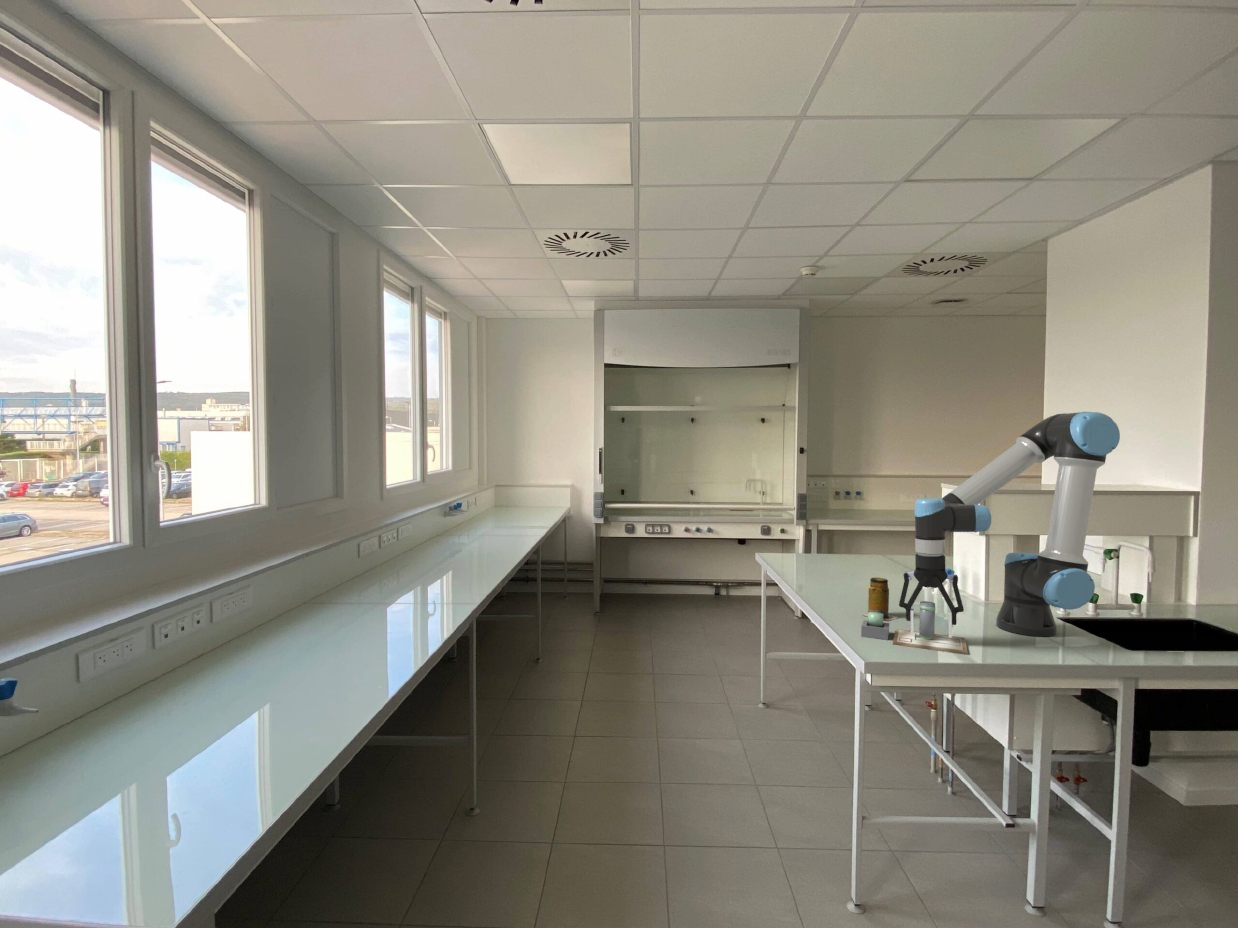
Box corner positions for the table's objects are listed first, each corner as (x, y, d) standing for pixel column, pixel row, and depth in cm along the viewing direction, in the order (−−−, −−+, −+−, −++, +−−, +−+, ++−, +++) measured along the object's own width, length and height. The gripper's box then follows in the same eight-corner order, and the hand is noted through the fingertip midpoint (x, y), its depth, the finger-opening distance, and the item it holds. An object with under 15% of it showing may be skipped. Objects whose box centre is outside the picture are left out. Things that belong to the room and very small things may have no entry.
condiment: (873, 611, 208) (874, 575, 208) (899, 617, 202) (900, 580, 202) (862, 615, 204) (863, 578, 203) (887, 621, 197) (888, 583, 197)
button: (883, 622, 184) (883, 612, 184) (882, 626, 180) (882, 616, 180) (868, 621, 186) (869, 610, 186) (867, 624, 182) (867, 614, 182)
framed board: (964, 639, 179) (964, 637, 179) (967, 654, 167) (967, 651, 167) (895, 630, 187) (895, 628, 187) (892, 644, 175) (893, 641, 175)
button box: (889, 633, 185) (889, 623, 185) (887, 639, 178) (888, 629, 178) (863, 629, 188) (863, 619, 188) (861, 636, 182) (861, 625, 181)
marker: (934, 637, 179) (935, 602, 179) (934, 641, 176) (935, 605, 175) (919, 635, 181) (920, 600, 180) (918, 639, 177) (919, 603, 177)
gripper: (973, 553, 176) (974, 634, 176) (888, 549, 185) (889, 626, 186) (975, 558, 169) (976, 642, 170) (887, 553, 179) (888, 633, 179)
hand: (931, 634), depth 178 cm, fingers open, 9 cm apart
